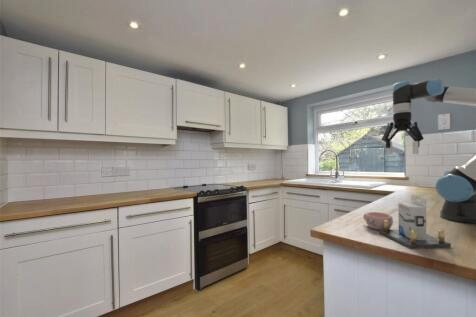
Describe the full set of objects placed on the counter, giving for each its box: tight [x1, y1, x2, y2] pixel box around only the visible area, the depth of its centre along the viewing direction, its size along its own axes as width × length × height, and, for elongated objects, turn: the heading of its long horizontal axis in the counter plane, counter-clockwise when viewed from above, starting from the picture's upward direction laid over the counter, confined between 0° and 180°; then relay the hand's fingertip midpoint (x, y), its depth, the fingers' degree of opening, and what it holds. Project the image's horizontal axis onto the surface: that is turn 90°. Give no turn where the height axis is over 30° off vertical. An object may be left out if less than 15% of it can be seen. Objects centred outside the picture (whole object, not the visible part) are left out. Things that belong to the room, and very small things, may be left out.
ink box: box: [397, 194, 427, 240], centre depth 81 cm, size 9×5×15 cm, turn 170°
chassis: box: [378, 220, 452, 249], centre depth 81 cm, size 14×15×5 cm
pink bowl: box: [362, 211, 394, 231], centre depth 95 cm, size 12×10×6 cm
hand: (402, 154), depth 113 cm, fingers open, 13 cm apart
